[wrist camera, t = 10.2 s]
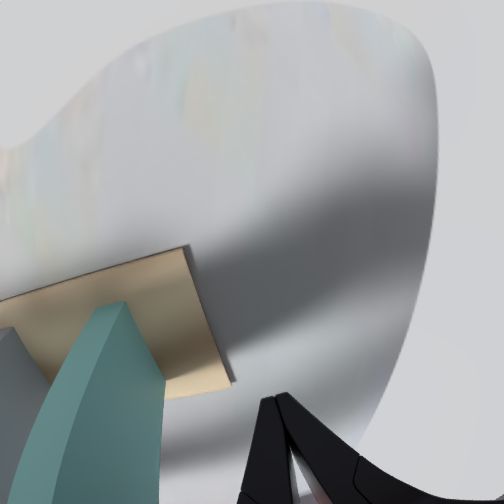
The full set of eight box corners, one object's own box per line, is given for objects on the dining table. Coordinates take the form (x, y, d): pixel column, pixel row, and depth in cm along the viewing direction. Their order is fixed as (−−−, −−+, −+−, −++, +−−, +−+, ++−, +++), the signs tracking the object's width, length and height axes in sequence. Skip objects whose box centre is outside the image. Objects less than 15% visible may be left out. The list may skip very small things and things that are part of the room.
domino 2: (166, 380, 13) (161, 565, 3) (139, 384, 13) (120, 559, 3) (125, 300, 11) (47, 526, 2) (95, 307, 11) (5, 507, 2)
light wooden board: (231, 383, 14) (231, 387, 14) (-40, 395, 11) (-41, 396, 11) (182, 247, 11) (181, 249, 11) (-80, 329, 9) (-81, 330, 8)
